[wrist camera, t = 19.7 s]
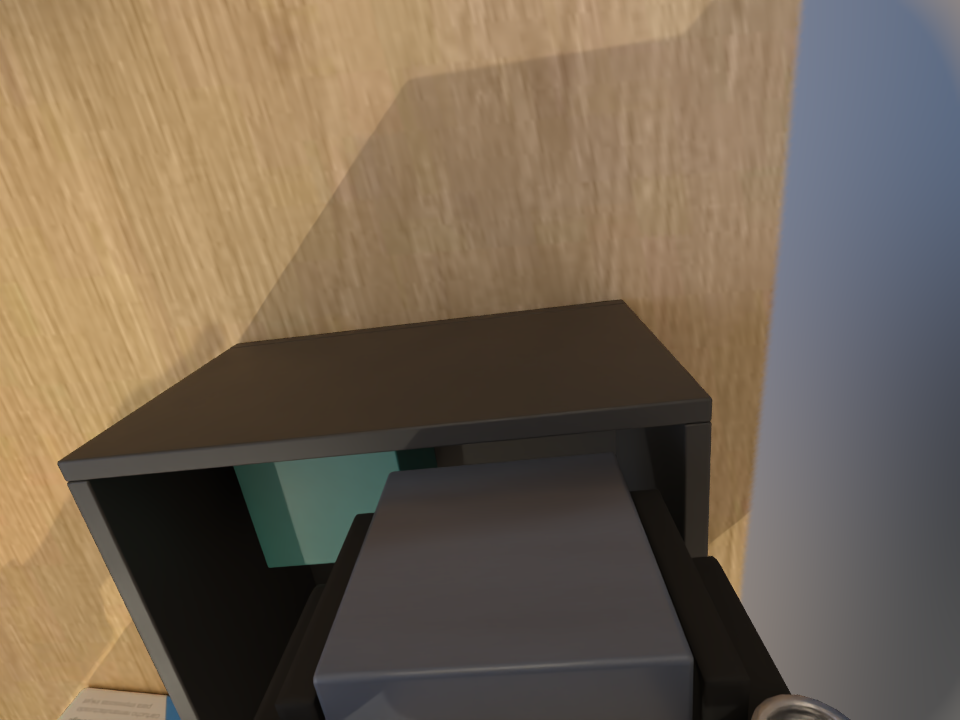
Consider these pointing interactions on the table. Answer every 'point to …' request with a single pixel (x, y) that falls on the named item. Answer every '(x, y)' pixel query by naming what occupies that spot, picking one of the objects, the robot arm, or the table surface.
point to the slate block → (507, 602)
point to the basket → (360, 430)
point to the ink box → (119, 706)
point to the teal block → (317, 500)
